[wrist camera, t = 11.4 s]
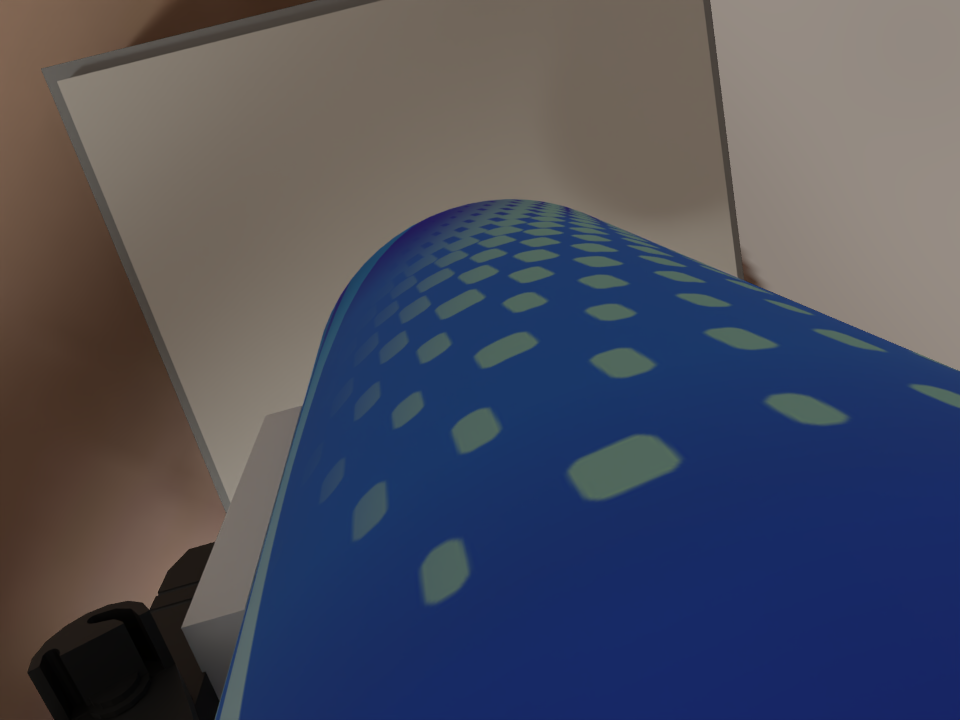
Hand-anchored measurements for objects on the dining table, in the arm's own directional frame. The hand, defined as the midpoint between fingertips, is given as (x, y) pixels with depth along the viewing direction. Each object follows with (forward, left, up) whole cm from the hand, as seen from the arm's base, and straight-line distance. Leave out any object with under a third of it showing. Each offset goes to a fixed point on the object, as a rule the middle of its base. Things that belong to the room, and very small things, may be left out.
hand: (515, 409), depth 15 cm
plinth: (0, 0, -14) cm, 14 cm away
